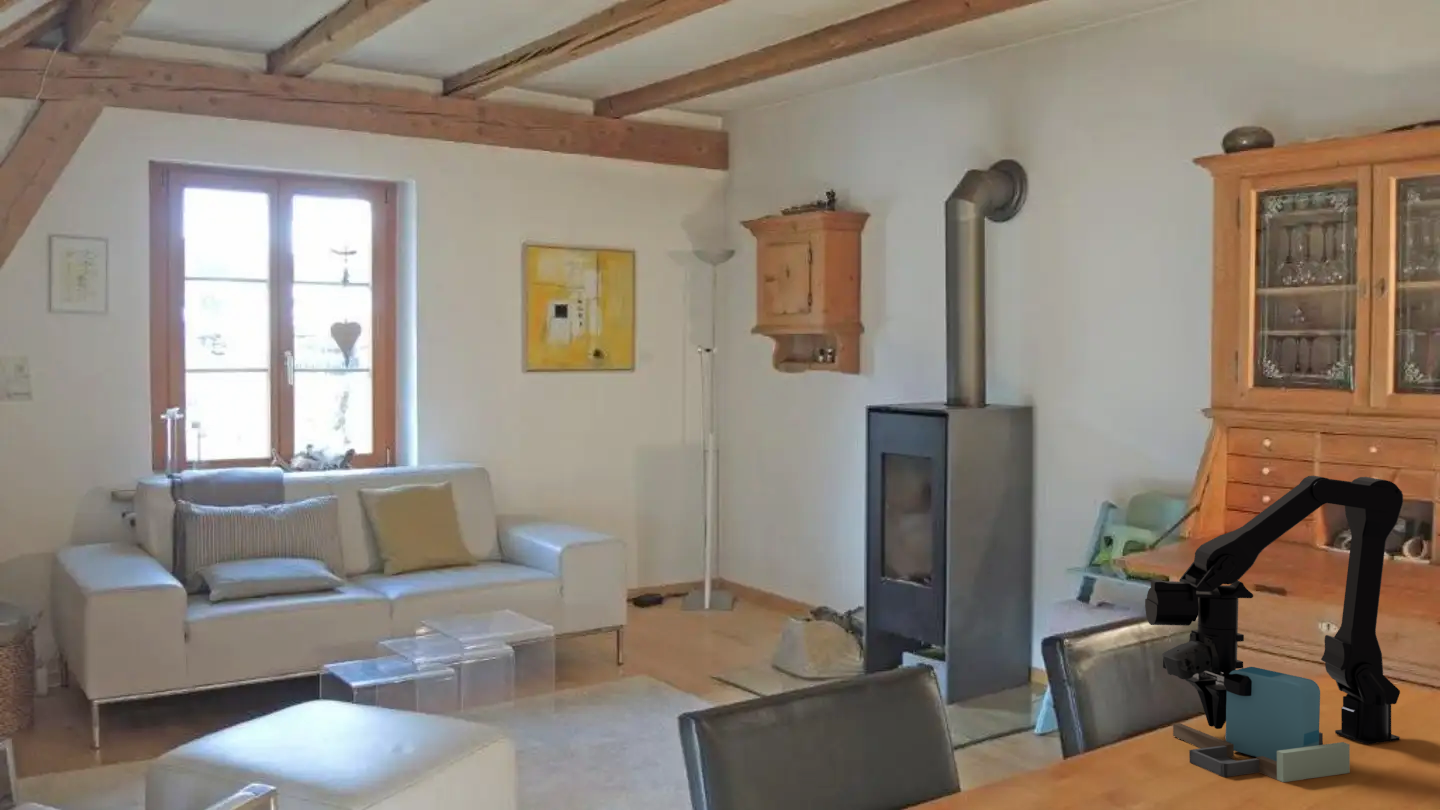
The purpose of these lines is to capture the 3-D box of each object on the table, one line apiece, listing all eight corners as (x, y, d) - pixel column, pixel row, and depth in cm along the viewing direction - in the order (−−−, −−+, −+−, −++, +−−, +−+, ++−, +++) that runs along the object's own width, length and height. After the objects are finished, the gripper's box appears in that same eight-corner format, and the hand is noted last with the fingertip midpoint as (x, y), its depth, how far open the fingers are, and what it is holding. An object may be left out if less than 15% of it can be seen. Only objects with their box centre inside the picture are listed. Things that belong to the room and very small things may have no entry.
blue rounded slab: (1319, 764, 181) (1321, 681, 181) (1301, 770, 178) (1304, 685, 178) (1241, 743, 191) (1243, 664, 190) (1224, 748, 188) (1226, 668, 188)
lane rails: (1234, 729, 199) (1234, 716, 199) (1343, 770, 178) (1342, 756, 178) (1173, 736, 196) (1173, 723, 196) (1276, 779, 175) (1276, 765, 175)
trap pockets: (1287, 732, 197) (1287, 720, 197) (1359, 758, 184) (1359, 746, 183) (1158, 748, 190) (1158, 736, 190) (1223, 777, 176) (1223, 764, 176)
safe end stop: (1343, 770, 178) (1342, 741, 178) (1349, 772, 177) (1349, 744, 177) (1276, 779, 175) (1276, 750, 175) (1283, 782, 174) (1283, 753, 174)
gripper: (1135, 616, 200) (1133, 715, 201) (1214, 641, 182) (1211, 749, 183) (1194, 613, 203) (1192, 709, 204) (1278, 637, 186) (1275, 743, 186)
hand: (1215, 727), depth 194 cm, fingers closed, pressing on blue rounded slab
